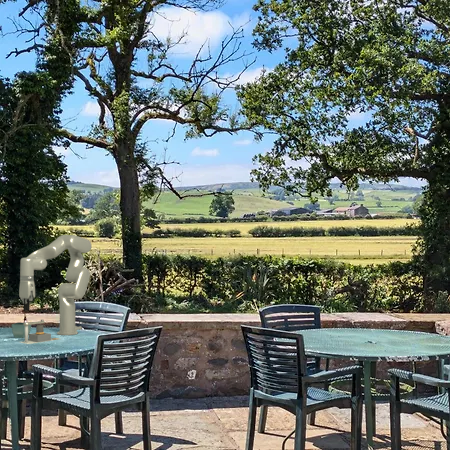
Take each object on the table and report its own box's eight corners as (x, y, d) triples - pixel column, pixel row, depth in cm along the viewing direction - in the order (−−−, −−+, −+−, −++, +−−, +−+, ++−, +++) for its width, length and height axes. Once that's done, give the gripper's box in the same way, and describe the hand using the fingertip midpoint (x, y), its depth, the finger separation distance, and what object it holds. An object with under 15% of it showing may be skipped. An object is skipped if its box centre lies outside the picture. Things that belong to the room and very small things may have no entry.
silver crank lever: (25, 325, 397) (25, 322, 397) (22, 325, 399) (22, 321, 399) (45, 323, 407) (45, 319, 407) (42, 322, 409) (42, 319, 409)
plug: (40, 339, 409) (41, 324, 409) (45, 340, 406) (45, 325, 406) (34, 340, 406) (34, 325, 406) (38, 341, 403) (38, 325, 403)
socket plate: (43, 339, 414) (43, 322, 414) (53, 341, 407) (53, 323, 407) (18, 343, 401) (18, 325, 401) (28, 345, 394) (28, 326, 394)
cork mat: (55, 338, 416) (55, 337, 416) (61, 339, 412) (61, 338, 412) (48, 339, 412) (48, 338, 412) (54, 340, 409) (54, 339, 409)
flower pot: (24, 339, 413) (24, 324, 413) (11, 339, 415) (11, 324, 415) (31, 337, 422) (31, 322, 422) (18, 337, 424) (18, 322, 424)
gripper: (39, 279, 406) (39, 310, 405) (25, 278, 415) (24, 309, 415) (28, 279, 400) (28, 311, 399) (14, 278, 410) (13, 310, 409)
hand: (26, 310), depth 407 cm, fingers closed
